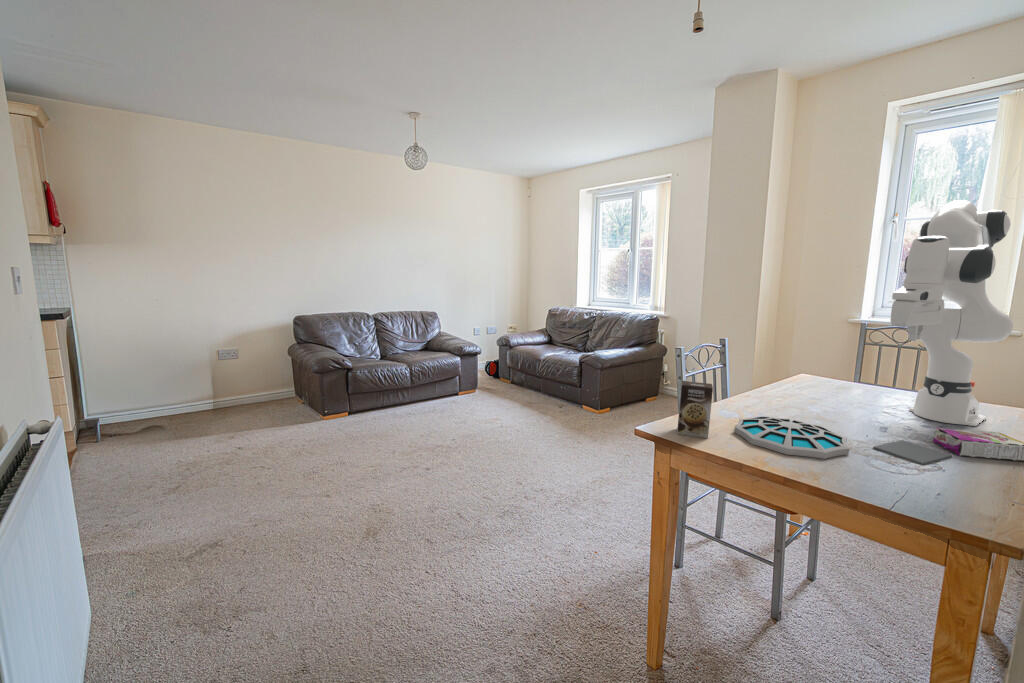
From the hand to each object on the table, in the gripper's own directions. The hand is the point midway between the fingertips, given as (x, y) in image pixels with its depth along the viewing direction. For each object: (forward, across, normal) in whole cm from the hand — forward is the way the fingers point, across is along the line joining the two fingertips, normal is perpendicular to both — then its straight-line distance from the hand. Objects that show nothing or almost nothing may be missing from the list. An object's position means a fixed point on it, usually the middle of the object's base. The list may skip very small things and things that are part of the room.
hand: (914, 340), depth 133 cm
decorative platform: (+32, +30, -14) cm, 46 cm away
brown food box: (+31, +55, -28) cm, 69 cm away
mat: (+31, +7, +7) cm, 33 cm away
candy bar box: (+29, -5, +9) cm, 31 cm away
